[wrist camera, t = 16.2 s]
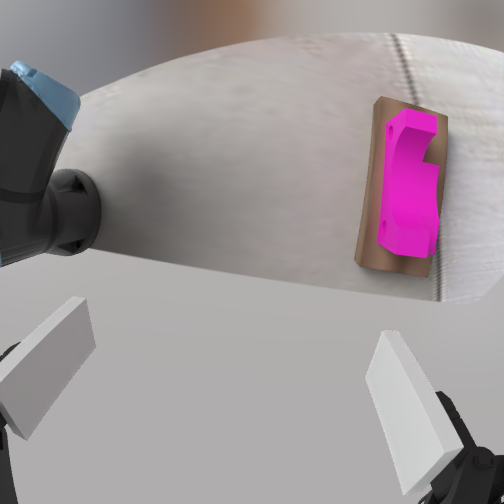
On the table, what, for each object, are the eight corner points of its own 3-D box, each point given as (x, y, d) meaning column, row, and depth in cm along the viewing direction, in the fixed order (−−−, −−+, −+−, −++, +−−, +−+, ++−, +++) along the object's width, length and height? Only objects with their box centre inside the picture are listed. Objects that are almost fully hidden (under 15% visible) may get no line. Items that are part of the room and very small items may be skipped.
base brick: (354, 259, 39) (359, 266, 35) (373, 104, 34) (381, 96, 30) (417, 269, 38) (427, 277, 34) (435, 122, 33) (447, 116, 29)
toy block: (420, 247, 33) (445, 260, 26) (376, 242, 34) (395, 254, 27) (428, 133, 30) (455, 121, 23) (385, 123, 31) (405, 108, 24)
